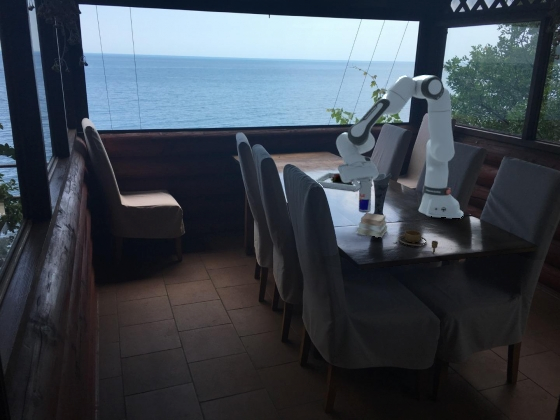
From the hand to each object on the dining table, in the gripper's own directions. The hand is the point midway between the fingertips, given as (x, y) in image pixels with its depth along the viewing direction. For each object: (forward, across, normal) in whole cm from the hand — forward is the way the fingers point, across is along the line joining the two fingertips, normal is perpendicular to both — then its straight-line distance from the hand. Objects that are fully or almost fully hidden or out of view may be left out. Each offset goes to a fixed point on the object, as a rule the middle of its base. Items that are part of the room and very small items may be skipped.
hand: (365, 187), depth 231 cm
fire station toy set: (-35, +36, +62) cm, 79 cm away
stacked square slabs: (+21, -4, +5) cm, 22 cm away
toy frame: (-38, +36, +63) cm, 82 cm away
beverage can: (+9, 0, +9) cm, 12 cm away
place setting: (+36, +2, -9) cm, 38 cm away
